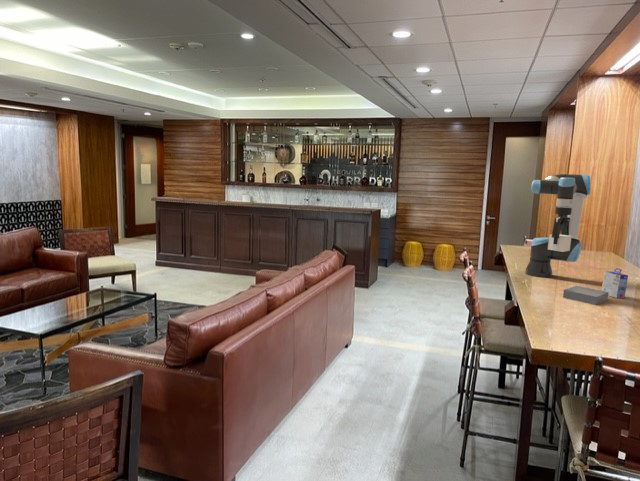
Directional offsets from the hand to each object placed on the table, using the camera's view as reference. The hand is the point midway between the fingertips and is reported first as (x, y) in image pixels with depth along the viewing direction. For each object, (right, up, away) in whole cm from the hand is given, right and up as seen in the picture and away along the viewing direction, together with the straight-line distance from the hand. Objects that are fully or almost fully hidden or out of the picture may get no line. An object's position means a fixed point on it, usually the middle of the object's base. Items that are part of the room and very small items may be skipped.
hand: (558, 249), depth 243 cm
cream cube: (0, 0, 0) cm, 0 cm away
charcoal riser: (+6, -25, -14) cm, 29 cm away
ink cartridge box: (+25, -24, -6) cm, 36 cm away
